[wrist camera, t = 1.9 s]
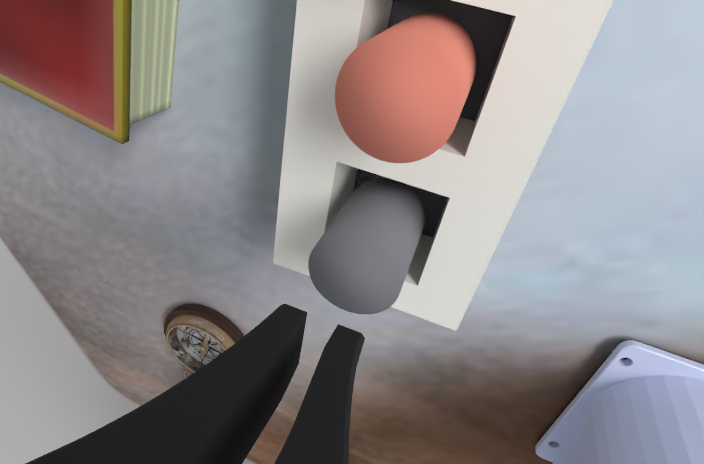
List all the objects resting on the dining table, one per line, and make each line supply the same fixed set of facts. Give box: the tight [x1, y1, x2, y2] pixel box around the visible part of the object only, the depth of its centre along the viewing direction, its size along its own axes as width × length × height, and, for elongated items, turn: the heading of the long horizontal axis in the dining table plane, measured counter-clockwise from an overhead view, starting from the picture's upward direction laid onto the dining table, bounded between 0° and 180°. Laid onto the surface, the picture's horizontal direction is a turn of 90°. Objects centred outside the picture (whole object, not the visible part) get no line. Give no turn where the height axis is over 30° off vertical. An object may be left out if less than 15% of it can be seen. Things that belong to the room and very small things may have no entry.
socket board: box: [273, 0, 613, 331], centre depth 14 cm, size 18×8×4 cm, turn 170°
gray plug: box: [308, 178, 426, 314], centre depth 15 cm, size 3×3×4 cm
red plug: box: [335, 13, 477, 163], centre depth 12 cm, size 3×3×4 cm
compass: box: [164, 305, 244, 379], centre depth 27 cm, size 8×8×7 cm
